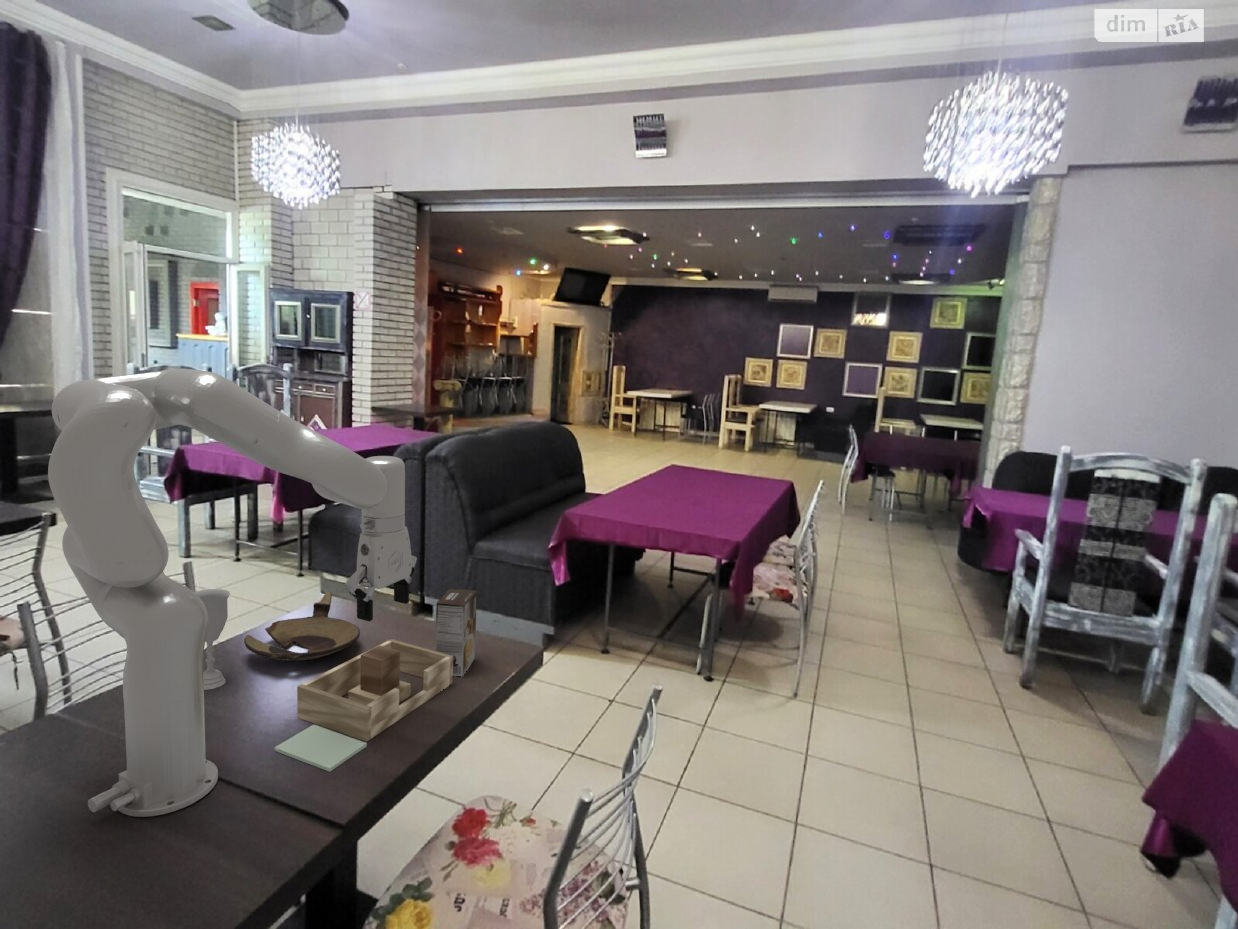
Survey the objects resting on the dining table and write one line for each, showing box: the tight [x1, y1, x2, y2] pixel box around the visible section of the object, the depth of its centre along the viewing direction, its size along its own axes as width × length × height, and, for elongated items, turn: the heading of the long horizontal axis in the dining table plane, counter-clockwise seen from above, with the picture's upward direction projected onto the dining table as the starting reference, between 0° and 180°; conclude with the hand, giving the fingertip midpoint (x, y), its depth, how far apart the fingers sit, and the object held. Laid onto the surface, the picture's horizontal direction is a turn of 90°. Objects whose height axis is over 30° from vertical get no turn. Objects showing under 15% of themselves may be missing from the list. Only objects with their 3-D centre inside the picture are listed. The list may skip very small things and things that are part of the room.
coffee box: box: [434, 588, 478, 678], centre depth 140 cm, size 9×6×16 cm
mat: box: [273, 724, 368, 772], centre depth 109 cm, size 8×12×1 cm, turn 68°
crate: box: [296, 638, 454, 743], centre depth 126 cm, size 24×16×6 cm, turn 158°
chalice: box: [193, 588, 231, 691], centre depth 126 cm, size 7×7×18 cm
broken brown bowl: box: [243, 591, 361, 662], centre depth 145 cm, size 22×30×8 cm
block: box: [360, 644, 401, 696], centre depth 125 cm, size 5×5×7 cm
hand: (383, 610), depth 124 cm, fingers open, 9 cm apart
